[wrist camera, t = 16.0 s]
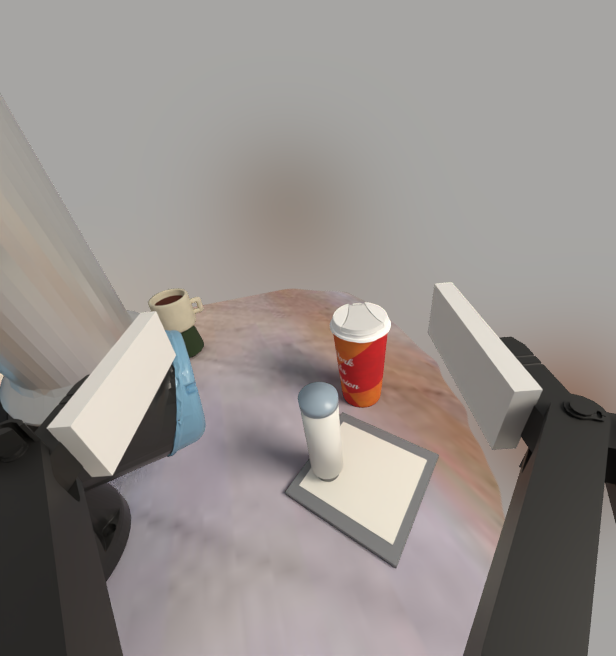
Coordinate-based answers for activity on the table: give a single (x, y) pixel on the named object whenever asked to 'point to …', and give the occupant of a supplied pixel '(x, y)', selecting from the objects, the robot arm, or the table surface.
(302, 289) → the table surface
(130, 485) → the table surface
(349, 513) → the writing board
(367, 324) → the coffee cup
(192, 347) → the character mug
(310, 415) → the thick grey marker
